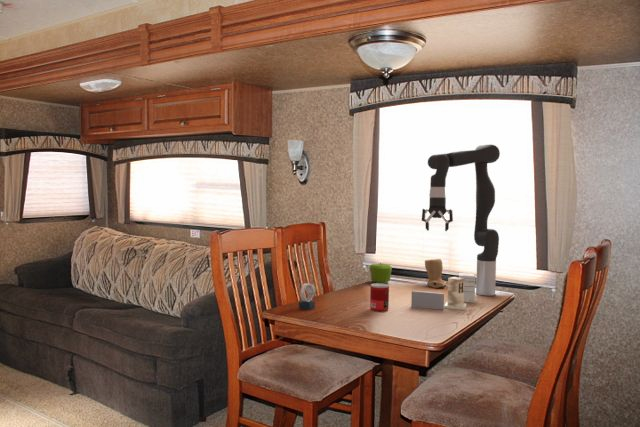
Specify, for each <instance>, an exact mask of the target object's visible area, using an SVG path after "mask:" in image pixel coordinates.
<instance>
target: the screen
mask: <svg viewBox="0 0 640 427" xmlns="http://www.w3.org/2000/svg"><path fill="white" fill-rule="evenodd" d="M410 304H411V305H410V307H411V308H421V309H429V310H431V309H432V310H444V309H445V308H444V305H445V293H444V292H434V291H433V292H432V291H420V290H412V291H411V303H410Z"/></svg>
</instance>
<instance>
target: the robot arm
mask: <svg viewBox="0 0 640 427" xmlns="http://www.w3.org/2000/svg"><path fill="white" fill-rule="evenodd" d="M500 154H501V152H500V148H499V147H498V146H497V145H495V144H482V145H478V146H476V148H475V149H472V150H458V151H453V152H452V151H451V152H448V153H447V152H446V153H439V154H438V153H437V154H432V155H431V156H430V157H428V159H427V165H428V167H429V168H430V169H432V170H436V171H435V173H434V174H432V175H431V176H430V187H429V206H428V207H429V208H422V210H421V212H422V213H421V222H424V223H425V230H426V231H430V221H431V219H443V221H444V222H445V224H444V225H445V226H444V227H445V228H444V230H445V232H448V230H449V224H450V223H452V222H453V221H454V219H453V218H454V217H453V209H452V208H449V209H447V208H446V206H447V205H446V204H447V201H446V200H447V190H446V189H447V188H446V187H447V186H446V181H447V175H448V172H449V168H454V167H455V168H456V167H460V166H465V165H470V164H474V167H475V222H474V233H473V238H474V239H473V240H474V242H475V244H476V245H477V246H479V247H483V251H482V252H480V253H478V254H477V255H476V277H475V295H479V296H495V295H496V276H497V275H496V274H497V273H496V272H497V257H498V254H499V242H500V236H499V233H498V231H497V230H496V229H492V228H488V220H489V215H491V214H490V213H491V212H492V210H493V208H494V206H495V203H496V189H495V185H494V184H493V182H492V179H491V178H490V176H489V172H488V164H492V163H495V162H497V161H498V160H499V158H500ZM427 213H429V216H428V217H427V218H426V214H427ZM446 213H447V214H448V215H449V219H448V218H447V217H446Z"/></svg>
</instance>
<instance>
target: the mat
mask: <svg viewBox="0 0 640 427" xmlns="http://www.w3.org/2000/svg"><path fill="white" fill-rule="evenodd" d="M466 308H467V302H464V305H461V306H452V305H448V301H445V302H444V309H448V310H449V309H452V310H462V311H465V310H466Z"/></svg>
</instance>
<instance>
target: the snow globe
mask: <svg viewBox="0 0 640 427" xmlns="http://www.w3.org/2000/svg"><path fill="white" fill-rule="evenodd" d="M315 291H316V287H315V286H314V285H313V284H312V283H306V282H305V283H303V284H302V285H301V288H300V294H299V295H300V296H299V297H300V299H301V300H299V301H298V310H299V309H300V310H305V311H312V310H314V308H315V307H316V305H315V304H316V302H315V301H313V298H314V295H315ZM305 292H306V293H307V295H308V296H307V295H306V293H305ZM315 309H316V308H315Z"/></svg>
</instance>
